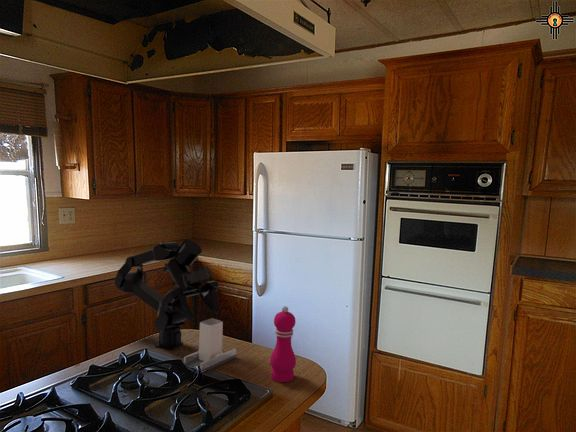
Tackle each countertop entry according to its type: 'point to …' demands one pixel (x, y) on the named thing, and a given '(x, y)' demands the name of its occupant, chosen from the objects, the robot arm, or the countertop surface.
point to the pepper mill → (283, 347)
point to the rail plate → (211, 363)
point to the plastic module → (210, 339)
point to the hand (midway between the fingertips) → (204, 316)
